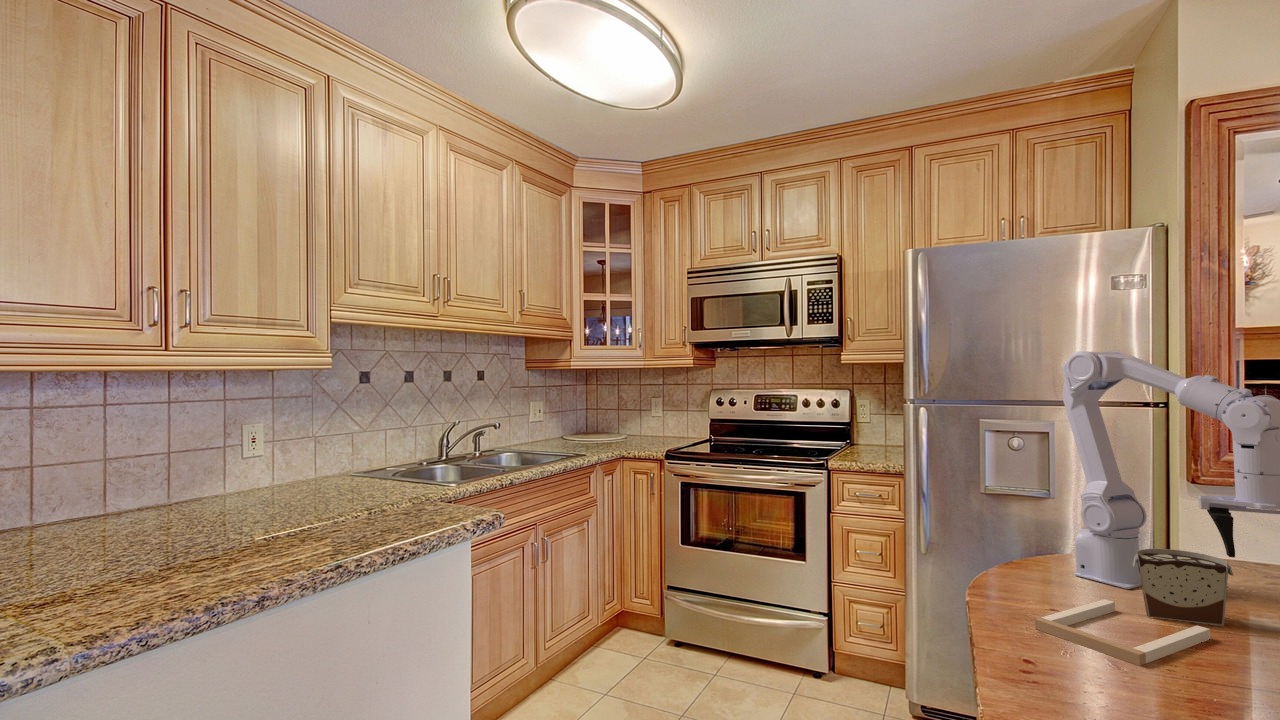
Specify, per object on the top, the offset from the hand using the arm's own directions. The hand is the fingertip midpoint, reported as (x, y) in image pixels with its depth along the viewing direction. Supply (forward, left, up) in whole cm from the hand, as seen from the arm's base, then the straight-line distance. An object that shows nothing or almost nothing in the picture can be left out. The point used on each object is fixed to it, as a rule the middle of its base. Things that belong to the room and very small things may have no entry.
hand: (1264, 559), depth 95 cm
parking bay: (-8, -24, -10) cm, 27 cm away
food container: (-8, -8, -10) cm, 15 cm away
